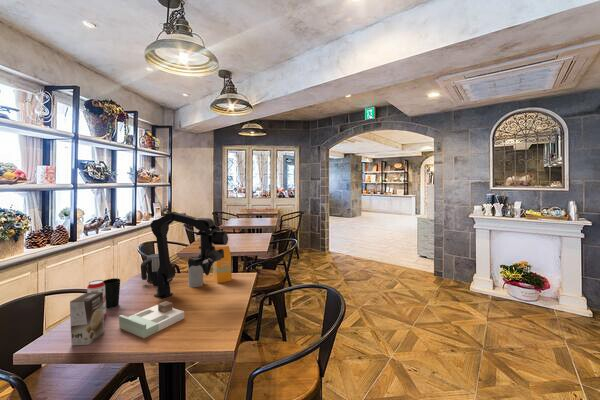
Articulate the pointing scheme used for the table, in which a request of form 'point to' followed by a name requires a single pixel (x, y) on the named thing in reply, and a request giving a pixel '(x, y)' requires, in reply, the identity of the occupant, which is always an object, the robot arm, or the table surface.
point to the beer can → (98, 287)
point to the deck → (149, 321)
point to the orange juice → (223, 267)
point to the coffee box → (86, 318)
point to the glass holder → (195, 275)
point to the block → (165, 306)
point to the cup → (112, 292)
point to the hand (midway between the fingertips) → (207, 275)
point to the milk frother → (150, 267)
